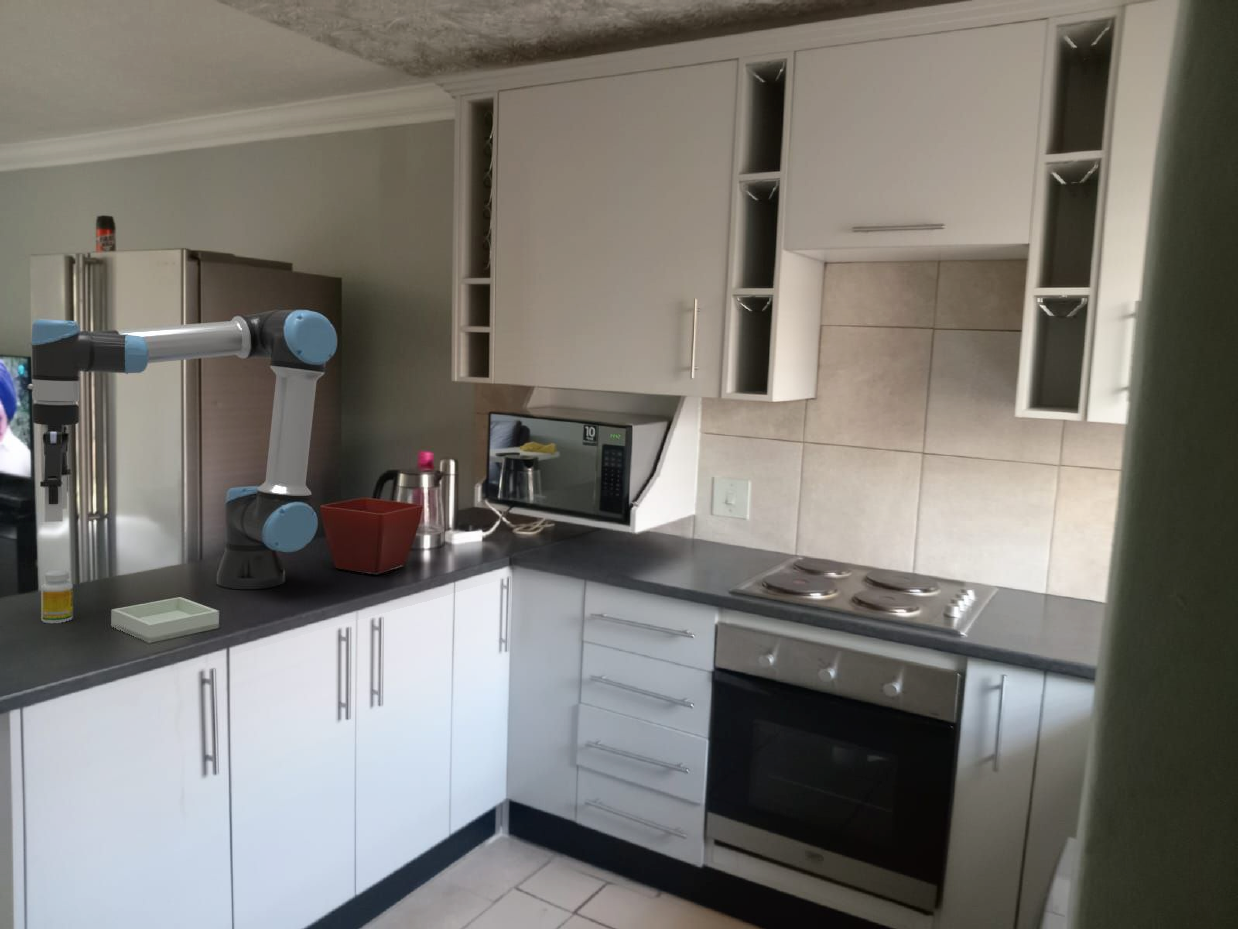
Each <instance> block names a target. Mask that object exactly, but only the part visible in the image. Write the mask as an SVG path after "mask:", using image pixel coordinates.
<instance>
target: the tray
mask: <svg viewBox="0 0 1238 929" xmlns="http://www.w3.org/2000/svg"><path fill="white" fill-rule="evenodd" d="M110 613H111V615H110V616H111V617H110V618H111V619H110V620H111V621H110V622H111V623H110V624H111V625H110V626H112V627H111V628H113V627H114V628H113V629H115V628H116V629H115V630H117V631H120V630H121V631H120V632H122V631H123V632H122V633H124V632H125V634H127V633H128V634H127V635H129V634H130V635H129V636H131V635H132V637H133V636H134V637H133V638H136V637H137V638H136V639H138V638H139V639H138V640H140V639H141V641H143V640H144V641H143V642H145V641H146V642H145V643H147V644H152V643H156V642H161V641H166V640H170V639H171V640H172V639H175V638H180V637H184V636H190V635H193V634H198V633H202V632H203V633H204V632H207V631H211V630H215V629H216V630H217V629H219V628H220V627H219V626H220V624H219V623H220V610H217V609H215V608H212V607H210V606H206V605H204V604H201V603H198V602H196V601H194V600H190V599H187V598H184V597H182V596H179V597H173V598H167V599H161V600H157V601H151V602H146V603H140V604H134V605H130V606H125V607H124V606H122V607H118V608H113V609H111V611H110Z"/></svg>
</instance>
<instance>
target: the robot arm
mask: <svg viewBox="0 0 1238 929" xmlns="http://www.w3.org/2000/svg"><path fill="white" fill-rule="evenodd" d="M31 326H32V327H31V340H30V345H31V346H30V347H31V348H30V350H31V371H32V372H31V374H32V375H31V378H32V379H31V382H32V383H29V384H28V385H27V388H28V389H29V390H32V392H31V397H32V400H33V401H35V403H33V404H32V405H31V421H32V423H34V424H36V425H42V426H43V425H44V426H45V425H46V426H47V431H45V432H43V434H42V443H43V454H44V479H43V481H40V483H39V484H40V487H43V488H44V522H45V523H47V522H48V523H50V522H51V523H52V522H53V523H54V522H63V516H64V515H63V511H64V510H63V509H68V482H67V481H68V480H67V479H68V475H72V472H71V471H72V470H71V468H70V469H69V468H68V464H67V463H68V462H67V461H68V460H67V452H68V451H69V450H68V447H69V445H68V443H69V438H70V435H69V433H68V432H66V430H67V427H66V426H72V425H74V426H75V425H77V424H79V422H80V406H79V404H77V402H79V401H80V372H84V373H85V372H87V373H88V372H90V373H91V372H92V373H110V374H111V373H114V374H115V373H117V374H125V375H126V374H127V375H128V374H140V373H143V372H144V371H146V369H147V367H148V364H155V363H164V362H173V361H174V362H175V361H183V360H184V361H185V360H194V359H195V360H196V359H206V358H207V359H208V358H214V357H224V356H226V357H228V356H237V357H238V358H240V359H249V358H250V359H251V358H252V359H253V358H255V359H257V358H258V359H259V358H260V359H267V360H268V359H269V360H270V365H269V368H270V369H271V370H272V371H273V373H274V374H275V375H276V376H275V377H276V378H275V386H274V396H273V397H274V398H273V405H272V415H271V416H272V417H271V426H270V433H269V434H270V435H269V445H268V455H267V463H266V474H265V481H264V482H263V483H261V485H254V486H253V485H252V486H238V487H236V486H235V487H232V488H229V489H228V490H227V492H226V496H225V501H224V504H225V505H224V506H225V535H224V536H225V540H224V541H225V542H224V544H225V546H224V553H223V556H222V558H221V561H220V563H219V568H218V570H217V572H216V584H217V586H220V587H223V588H227V589H233V590H234V589H235V590H261V589H268V588H273V587H277V586H279V585H282V584H284V583H285V581H286V571H285V570H286V569H285V568H284V564H283V561H282V558H281V555H280V553H279V552H282V553H283V552H284V553H292V552H293V553H294V552H297V551H299V550H302V549H303V548H305V547H306V546H307V545H308V544H309V543H310V542H312V540H313V538H314V537H315V535H316V533H317V530H318V524H319V523H318V522H319V521H318V516H317V513H316V512H315V509H313V507H312V506H311V505H312V504H311V503H312V502H311V501H312V491H311V490H310V489H309V488H308V487H307V484H306V482H307V473H308V467H309V466H308V465H309V464H308V463H309V455H310V454H309V453H310V444H311V436H312V428H313V417H314V408H315V399H316V391H317V381H318V380H319V379H320V378H321V377H323V375H325V372H326V363H327V362H328V361H329V360H330V359H331V358H332V357H333V356H334V354H335V353H336V350H337V347H338V335H337V332H336V328H335V327H334V326H333V324H332V323H331V321H330V320H329V319H328V318H327V316H324V315H323V314H321V313H319V312H316V311H312V310H307V309H274V310H270V311H269V310H268V311H264V312H260V313H253V314H248V315H237V316H236V315H235V316H234V317H233V318H232V319H231V320H229V321H226V320H225V321H215V322H203V323H202V322H201V323H187V324H175V325H161V326H149V327H147V326H146V327H135V328H122V329H114V330H113V329H112V330H109V329H108V330H96V331H95V330H94V331H90V330H81V328H80V326H79V323H78V322H77V321H75V320H74V321H73V320H61V319H48V318H46V319H45V318H37V319H35V320H34V321H33V322H32V325H31Z"/></svg>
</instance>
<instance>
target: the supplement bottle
mask: <svg viewBox="0 0 1238 929" xmlns="http://www.w3.org/2000/svg"><path fill="white" fill-rule="evenodd" d="M69 579H70V571H68V570H51V571H46V572H45V574H44V580H45V582H44V583H43V584H42V585H41V587H40V588H41V589H40V606H41V607H40V620H41V622H43V623H46V624H54V623H55V624H63V623H67V622H70V621H71V620H72V619H73V618H74V600H73V599H74V586H73V582H71V581H69ZM69 620H70V621H69ZM66 621H67V622H66ZM62 622H63V623H62Z"/></svg>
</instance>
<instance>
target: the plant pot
mask: <svg viewBox="0 0 1238 929" xmlns="http://www.w3.org/2000/svg"><path fill="white" fill-rule="evenodd" d="M319 506H320V514H321V521H322V522H321V523H322V526H323V527H322V528H323V530H324V536H325V538H326V539H325V540H326V542H327V546H328V550H329V553H330V556H331V559H332V561H333V564H334V566H335V569H336V568H340V569H345V570H346V569H347V570H355V571H361V572H371V573H379V572H384V571H386V570H389V569H391V568H395V567H398V566H400V565H404V566H405V564H406V562H407V559H409V558H408V557H409V555H410V552H411V550H412V548H413V545H414V542H415V539H416V535H417V532H418V529H419V525H420V523H421V522H420V521H421V517H422V512H423V507H424V506H423V504H418V503H411V502H410V503H409V502H402V501H396V500H390V499H389V500H387V499H378V498H371V497H369V498H368V497H360V498H359V497H358V498H355V499H354V498H353V499H349V500H344V501H337V502H332V503H328V504H327V503H326V504H321V505H319ZM345 570H344V571H345Z"/></svg>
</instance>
